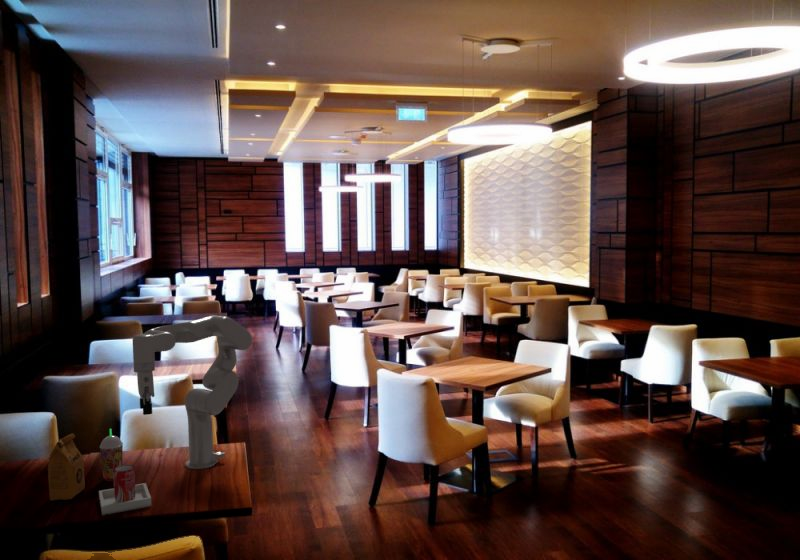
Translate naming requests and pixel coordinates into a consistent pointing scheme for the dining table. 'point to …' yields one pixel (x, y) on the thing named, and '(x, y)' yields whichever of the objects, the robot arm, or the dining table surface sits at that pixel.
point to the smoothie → (111, 455)
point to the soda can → (124, 483)
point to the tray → (113, 506)
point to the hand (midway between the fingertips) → (146, 411)
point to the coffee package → (65, 470)
